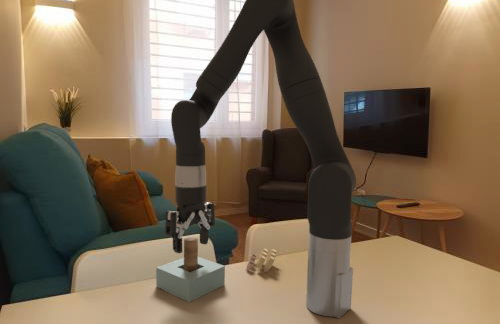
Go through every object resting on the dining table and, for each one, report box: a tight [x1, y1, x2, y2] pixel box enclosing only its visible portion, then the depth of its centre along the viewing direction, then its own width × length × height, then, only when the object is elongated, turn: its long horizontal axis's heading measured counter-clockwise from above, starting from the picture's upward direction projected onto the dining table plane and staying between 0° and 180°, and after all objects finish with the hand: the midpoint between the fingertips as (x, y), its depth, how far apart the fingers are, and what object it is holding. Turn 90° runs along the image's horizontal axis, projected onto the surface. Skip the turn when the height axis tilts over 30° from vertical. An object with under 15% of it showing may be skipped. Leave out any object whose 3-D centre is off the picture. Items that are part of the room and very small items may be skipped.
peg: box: [183, 237, 199, 272], centre depth 94 cm, size 3×3×12 cm
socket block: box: [155, 256, 226, 303], centre depth 95 cm, size 12×12×5 cm
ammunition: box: [245, 247, 278, 273], centre depth 107 cm, size 5×7×8 cm
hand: (191, 247), depth 94 cm, fingers open, 8 cm apart
